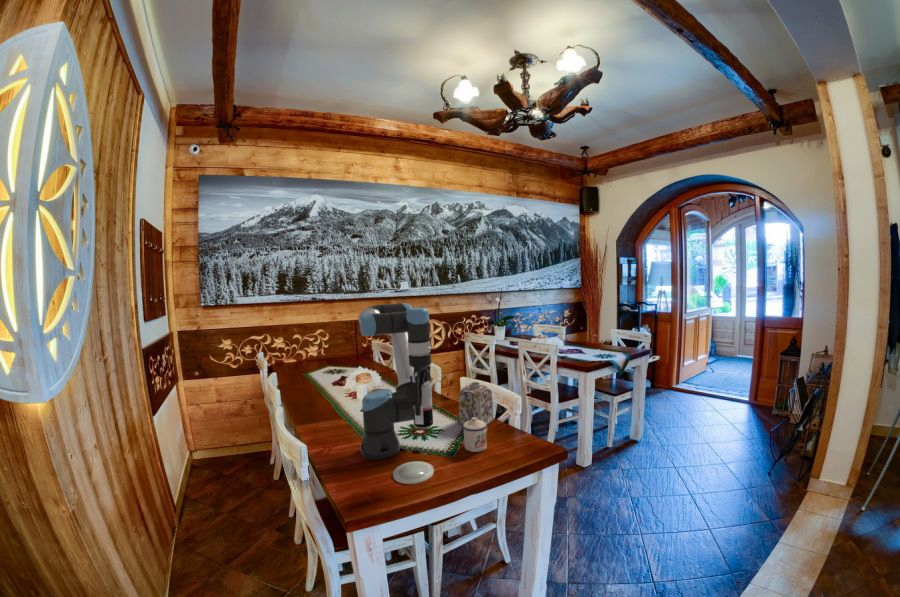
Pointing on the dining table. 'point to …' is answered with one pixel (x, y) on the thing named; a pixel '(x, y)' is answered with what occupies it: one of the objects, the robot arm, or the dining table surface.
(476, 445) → the teacup with lid
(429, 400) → the beverage can
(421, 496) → the dining table surface
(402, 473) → the plate
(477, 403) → the decorative jar
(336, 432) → the dining table surface
